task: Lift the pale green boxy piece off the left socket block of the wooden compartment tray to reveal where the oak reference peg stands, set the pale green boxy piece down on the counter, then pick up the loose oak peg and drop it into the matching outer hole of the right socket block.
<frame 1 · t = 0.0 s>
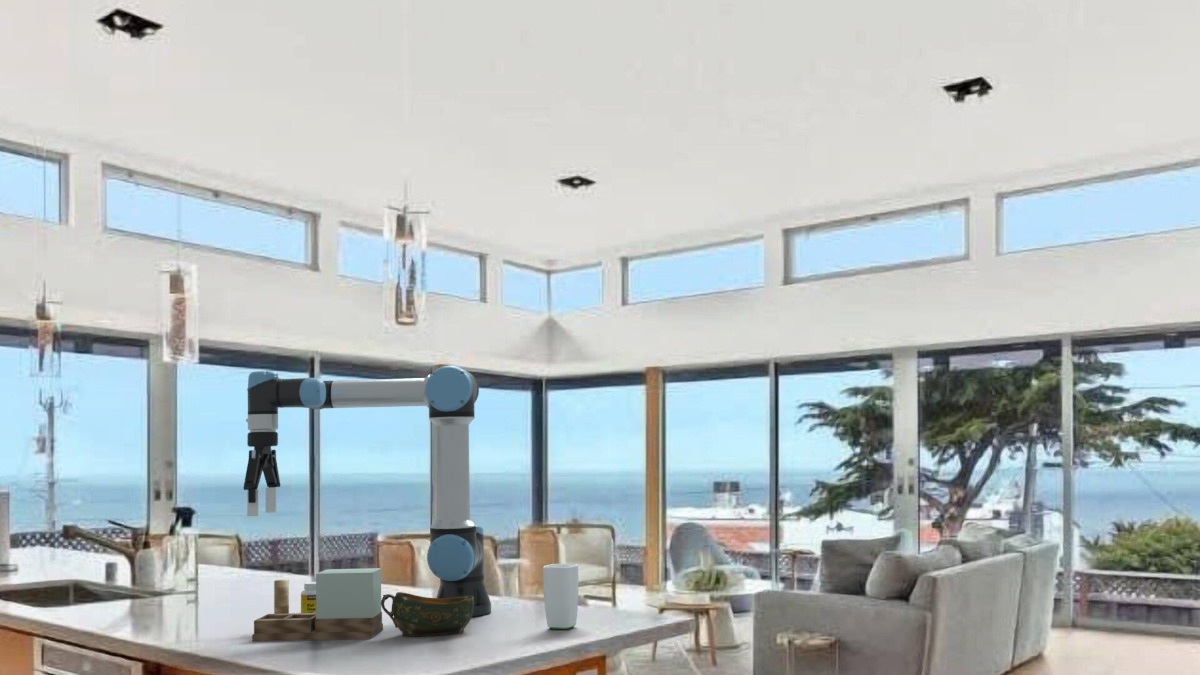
hand: (262, 514, 277), 28 cm above the counter, fingers open, 13 cm apart
pale green boxy piece: (349, 615, 259), point 4 cm above the counter, touching wooden compartment tray
cup: (561, 628, 260), on the counter
green gravy boat: (429, 634, 257), on the counter
peg: (281, 629, 268), on the counter
supplement bottle: (312, 624, 277), on the counter
wooden compartment tray: (319, 635, 259), on the counter
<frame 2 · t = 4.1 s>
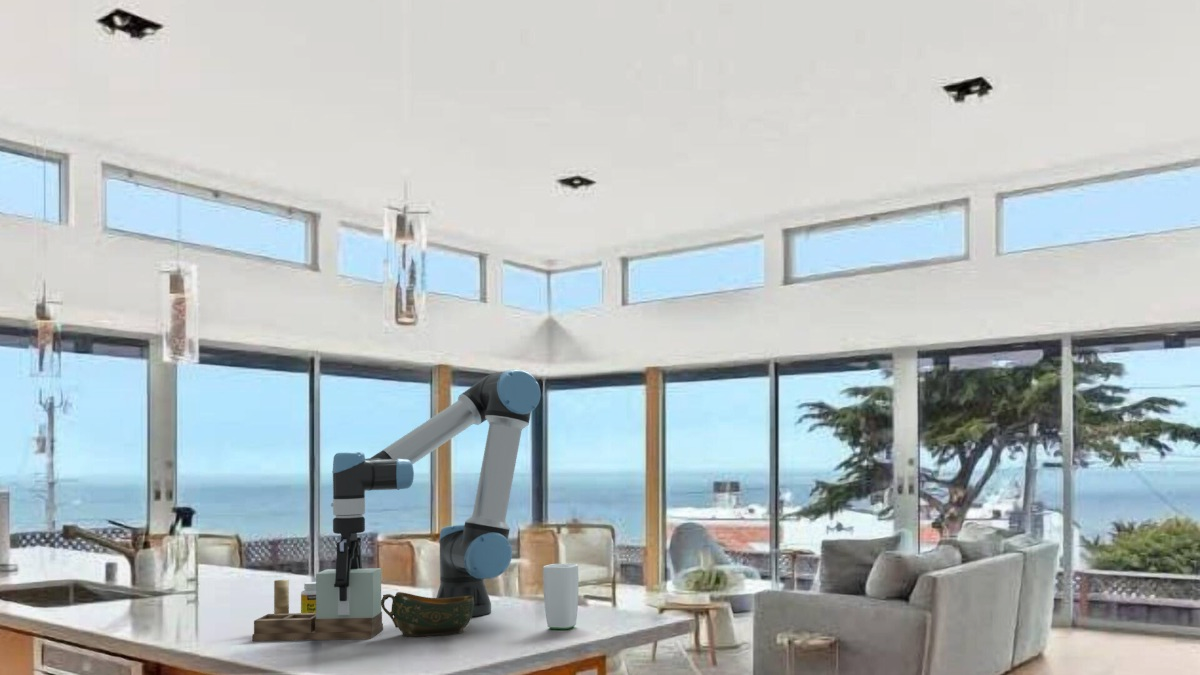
hand: (349, 611, 259), 5 cm above the counter, fingers closed on pale green boxy piece, 9 cm apart
pale green boxy piece: (349, 615, 259), point 5 cm above the counter, touching wooden compartment tray, gripper
everything else where it was.
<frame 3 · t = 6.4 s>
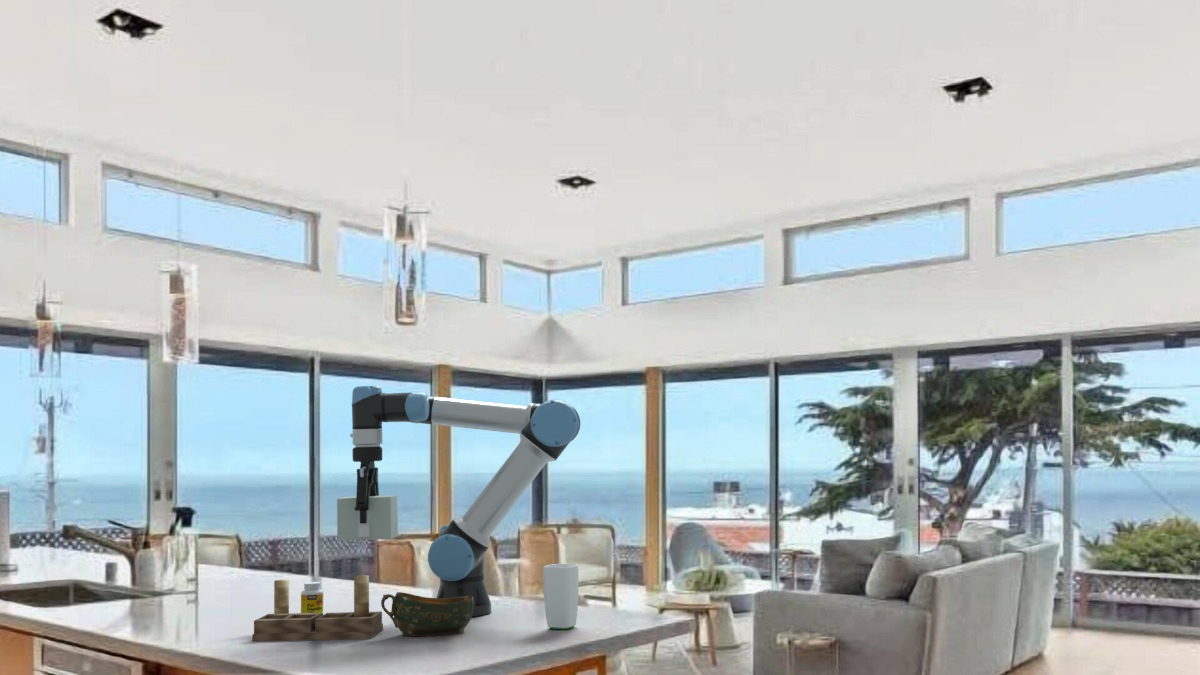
hand: (368, 534, 276), 22 cm above the counter, fingers closed on pale green boxy piece, 9 cm apart
pale green boxy piece: (368, 538, 276), point 21 cm above the counter, touching gripper
everything else where it was.
when the fingers open (3 cm above the counter, at t = 9.1 s): pale green boxy piece drops 2 cm, on the counter.
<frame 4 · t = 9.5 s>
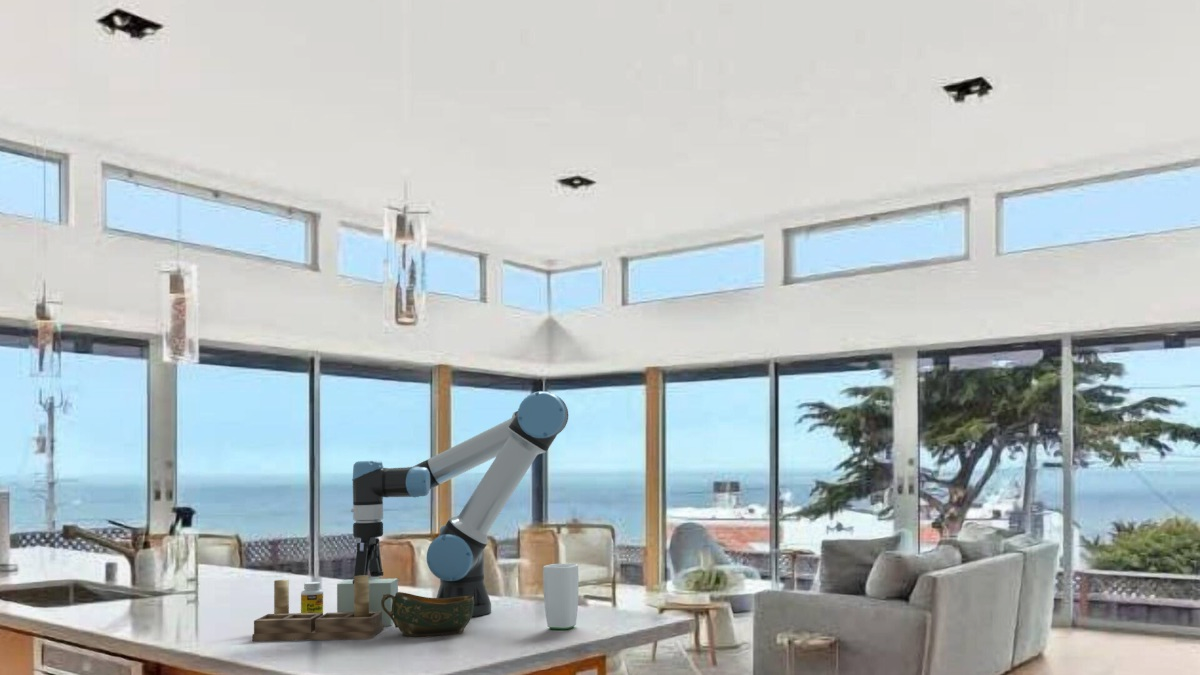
hand: (368, 606, 275), 4 cm above the counter, fingers open, 13 cm apart
pale green boxy piece: (368, 623, 274), on the counter
everything else where it was.
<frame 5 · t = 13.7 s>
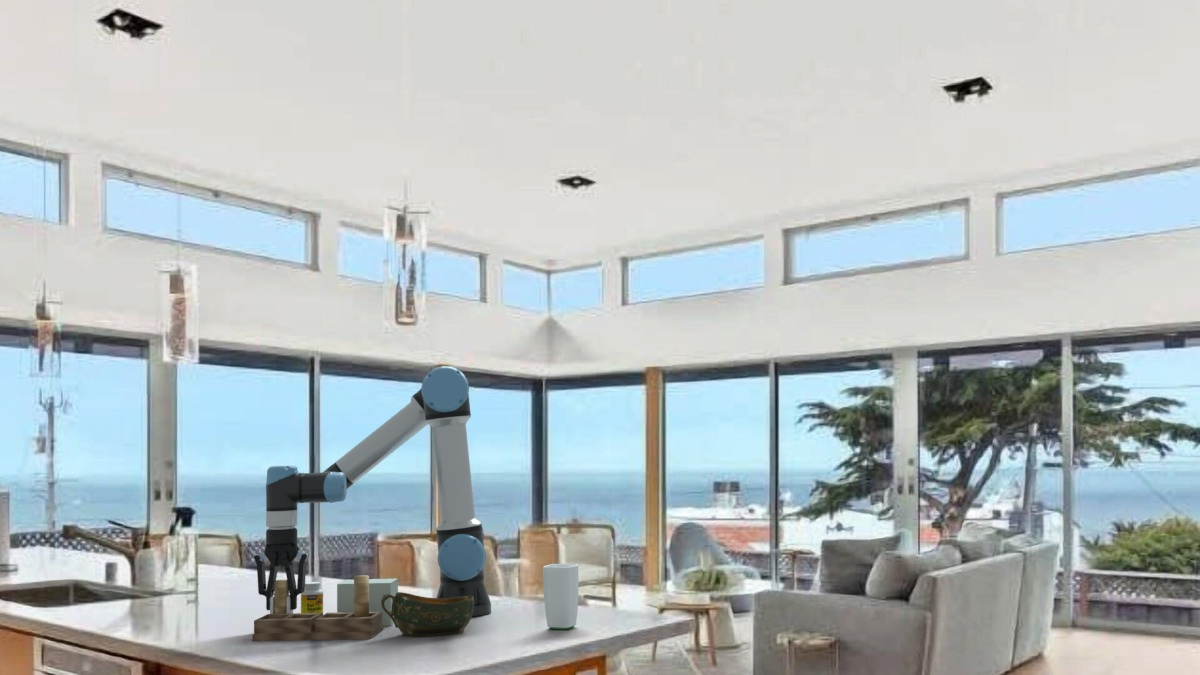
hand: (281, 623, 268), 2 cm above the counter, fingers closed on peg, 3 cm apart
peg: (281, 629, 268), on the counter, touching gripper
everything else where it was.
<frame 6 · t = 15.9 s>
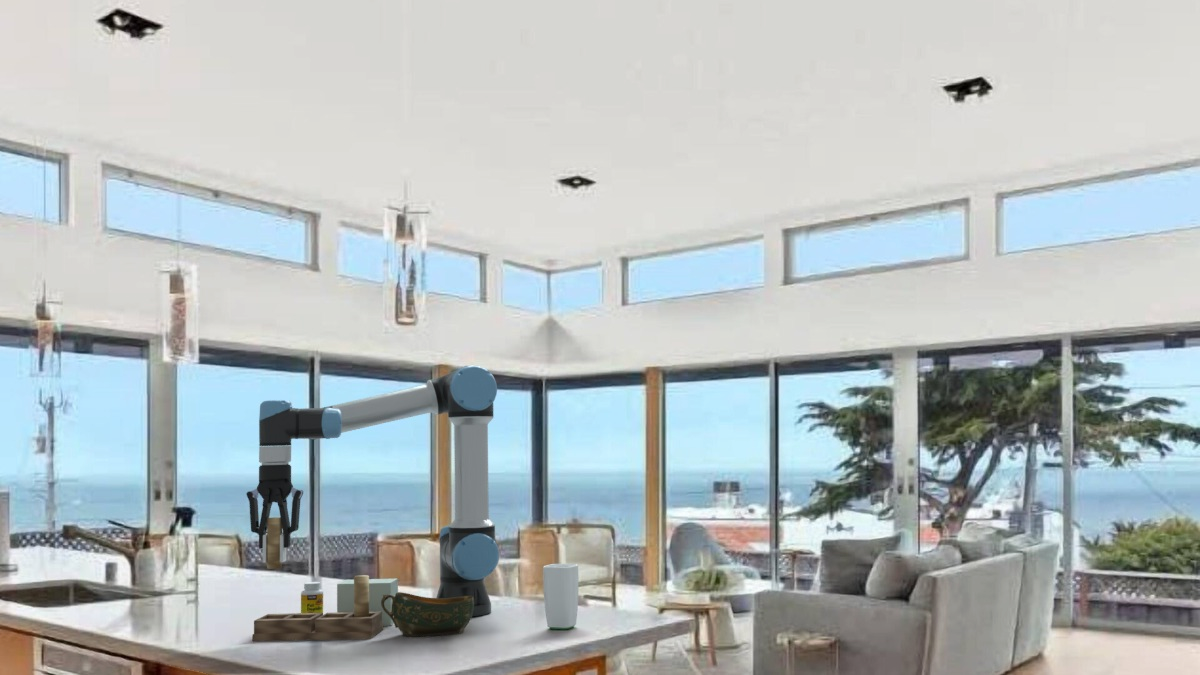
hand: (274, 561, 261), 18 cm above the counter, fingers closed on peg, 3 cm apart
peg: (274, 568, 260), point 16 cm above the counter, touching gripper
everything else where it was.
when the fingers open (6 cm above the counter, at t = 18.5 s): peg drops 3 cm, resting on wooden compartment tray.
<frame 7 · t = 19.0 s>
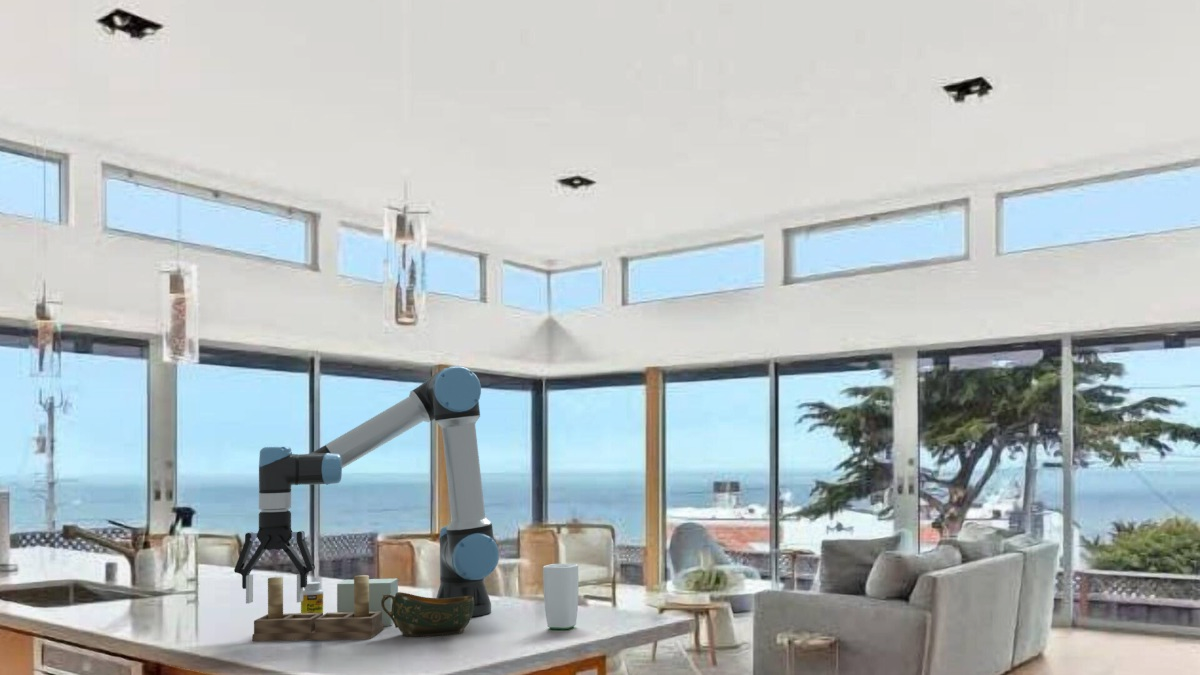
hand: (274, 602, 260), 8 cm above the counter, fingers open, 11 cm apart
peg: (275, 628, 259), point 2 cm above the counter, touching wooden compartment tray
everything else where it was.
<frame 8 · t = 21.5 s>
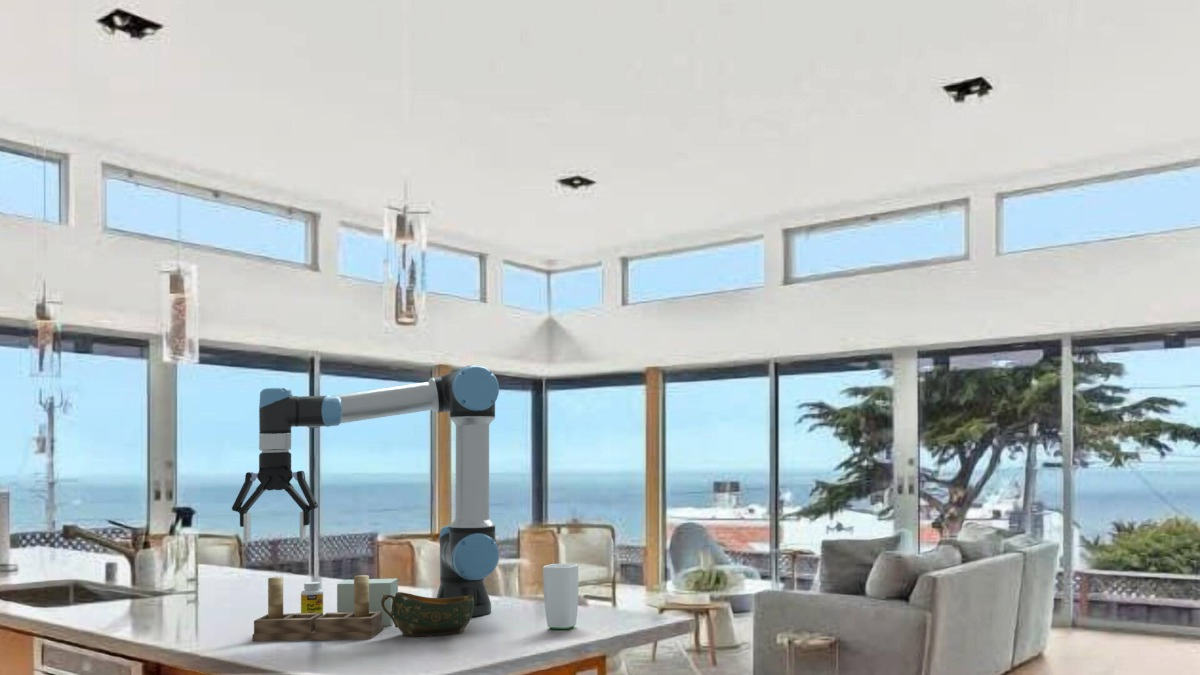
hand: (274, 540, 261), 23 cm above the counter, fingers open, 13 cm apart
nothing on the counter moved.
at the end: peg 0.2 cm from the target spot on the wooden compartment tray, point 1.7 cm above the wooden compartment tray's base; peg tilted 0°; pale green boxy piece moved 16.7 cm from its start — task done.
